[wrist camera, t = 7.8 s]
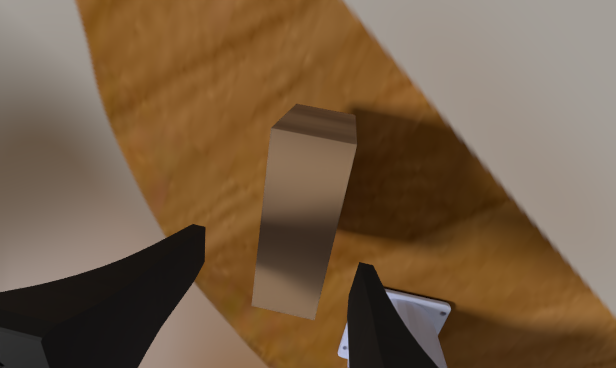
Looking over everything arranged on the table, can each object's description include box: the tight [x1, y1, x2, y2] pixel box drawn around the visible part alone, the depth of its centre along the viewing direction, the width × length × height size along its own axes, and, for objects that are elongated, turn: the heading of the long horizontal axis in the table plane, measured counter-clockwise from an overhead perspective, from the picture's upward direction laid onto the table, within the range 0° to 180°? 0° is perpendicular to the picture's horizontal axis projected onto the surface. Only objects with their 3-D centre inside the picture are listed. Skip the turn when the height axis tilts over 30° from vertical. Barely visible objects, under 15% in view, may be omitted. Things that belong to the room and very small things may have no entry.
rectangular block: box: [252, 104, 357, 320], centre depth 17 cm, size 10×4×6 cm, turn 171°
